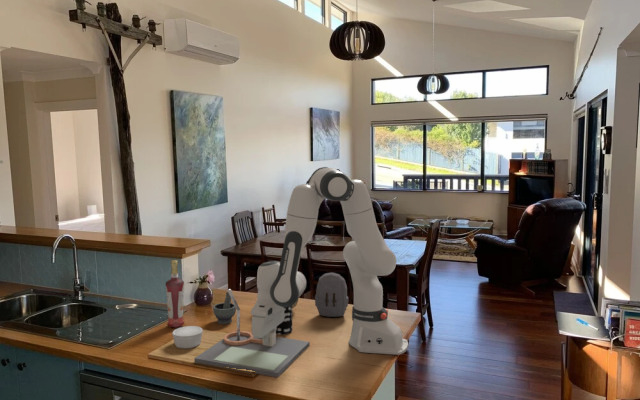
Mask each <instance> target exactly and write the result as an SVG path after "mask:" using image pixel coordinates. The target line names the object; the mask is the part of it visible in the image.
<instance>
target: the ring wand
mask: <svg viewBox="0 0 640 400" xmlns="http://www.w3.org/2000/svg"><path fill="white" fill-rule="evenodd" d="M235 335H237V330H235V332H234V331H233V332H227V334H225V335H224V336H223V339H224V342H225V343H227V344H229V345H244V344H248V343H250V342H253V343H259V344H263V345H265V346H272V347H273V346H274V345H275V344H276V337H277V334H276V332H273V331H270V332H269V335H268V337H269V338H270V342H269V343H268V344H265V343H264V339H256V338H253V335H252V332H250V331H246V330H245V331H243V330H240V335H245V336H248V337H250V338H249V339H247V340H243V341H231V340H228V338H229V337H231V336H235Z"/></svg>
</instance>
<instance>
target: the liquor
mask: <svg viewBox="0 0 640 400" xmlns="http://www.w3.org/2000/svg"><path fill="white" fill-rule="evenodd" d="M178 265H179V263H178V260H177V259H173V260H170V267H171V272H170V273H171V274H170V279H168V280H166V282H165V291H166V293H165V294H166V303H167V304H166V305H167V326H168V327H169V328H172V329H178V328H181V327H183V325H184V324H185V321H184V299H185V298H184V297H185V295H184V294H185V292H184V291H185V290H184V289H185V287H184V286H185V282H184V280H183V279H181V278H179V273H178V271H179V270H178V267H179V266H178Z"/></svg>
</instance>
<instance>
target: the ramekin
mask: <svg viewBox="0 0 640 400" xmlns="http://www.w3.org/2000/svg"><path fill="white" fill-rule="evenodd" d="M203 333H204V330H203V328H202V327H200V326H196V325H187V326H181V327H179V328H174V330H173V331H172V337H173V342H174V345H175V347H176V348H178V349H192V348H195V347H198V346H199V345H200V344H201V342H202V336H203Z"/></svg>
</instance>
